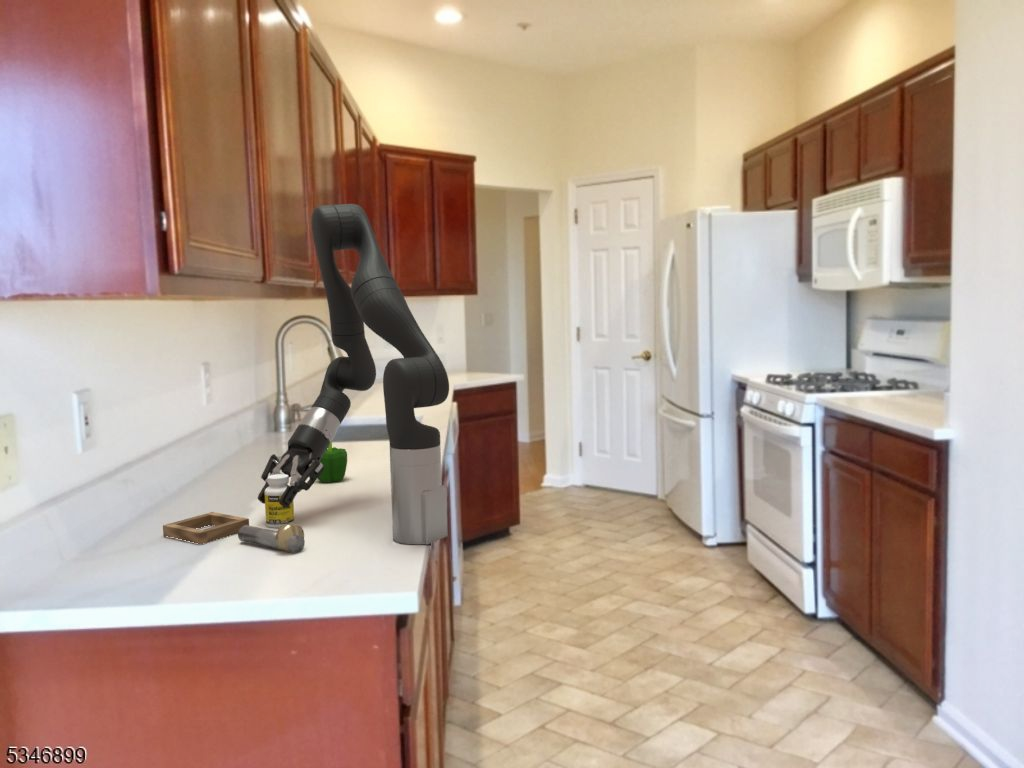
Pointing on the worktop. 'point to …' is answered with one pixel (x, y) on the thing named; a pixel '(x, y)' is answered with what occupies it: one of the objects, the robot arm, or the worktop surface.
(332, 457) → the bell pepper
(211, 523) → the collar block
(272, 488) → the supplement bottle
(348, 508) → the worktop surface
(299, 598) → the worktop surface
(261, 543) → the shaft
